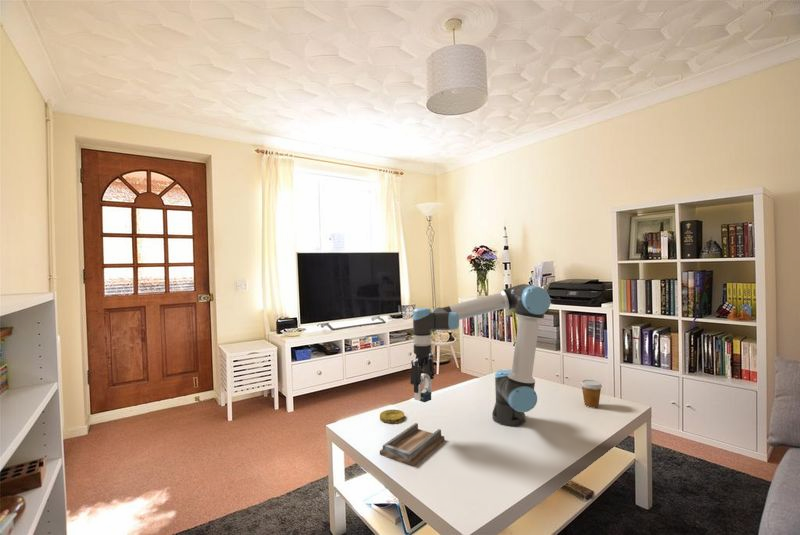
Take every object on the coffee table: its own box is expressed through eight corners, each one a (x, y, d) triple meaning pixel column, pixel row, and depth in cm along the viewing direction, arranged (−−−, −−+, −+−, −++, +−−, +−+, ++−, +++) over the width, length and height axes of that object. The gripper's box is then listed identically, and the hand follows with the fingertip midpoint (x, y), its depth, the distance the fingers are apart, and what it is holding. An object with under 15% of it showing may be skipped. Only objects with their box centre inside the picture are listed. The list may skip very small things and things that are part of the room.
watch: (411, 400, 161) (411, 374, 161) (424, 395, 167) (423, 370, 167) (421, 403, 157) (421, 377, 157) (434, 398, 163) (433, 373, 163)
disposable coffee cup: (602, 404, 193) (602, 381, 192) (601, 410, 185) (600, 386, 184) (582, 401, 198) (582, 378, 197) (580, 407, 190) (579, 383, 189)
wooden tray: (444, 439, 160) (444, 430, 160) (413, 466, 140) (413, 455, 140) (412, 430, 169) (412, 422, 169) (379, 454, 149) (379, 444, 149)
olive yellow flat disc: (400, 425, 176) (400, 420, 176) (376, 422, 179) (376, 418, 179) (407, 415, 187) (407, 410, 187) (384, 412, 191) (384, 408, 190)
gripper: (427, 338, 172) (428, 388, 173) (400, 347, 155) (401, 402, 156) (442, 340, 168) (442, 391, 168) (415, 350, 151) (416, 406, 151)
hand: (423, 396), depth 162 cm, fingers closed on watch, 8 cm apart
